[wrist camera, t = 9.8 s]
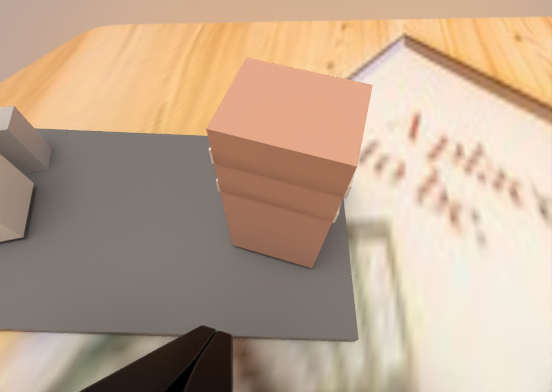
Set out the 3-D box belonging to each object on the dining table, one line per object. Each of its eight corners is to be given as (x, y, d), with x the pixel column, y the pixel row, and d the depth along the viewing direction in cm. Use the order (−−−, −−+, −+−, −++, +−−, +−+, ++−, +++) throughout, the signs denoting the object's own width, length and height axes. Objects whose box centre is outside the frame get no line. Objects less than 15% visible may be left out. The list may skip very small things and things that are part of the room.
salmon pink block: (313, 268, 18) (360, 167, 9) (230, 244, 19) (203, 128, 10) (327, 211, 20) (375, 85, 11) (251, 191, 21) (244, 57, 12)
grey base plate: (353, 341, 17) (383, 328, 13) (-135, 326, 17) (-272, 308, 12) (334, 149, 25) (349, 101, 20) (-7, 135, 24) (-65, 82, 20)
